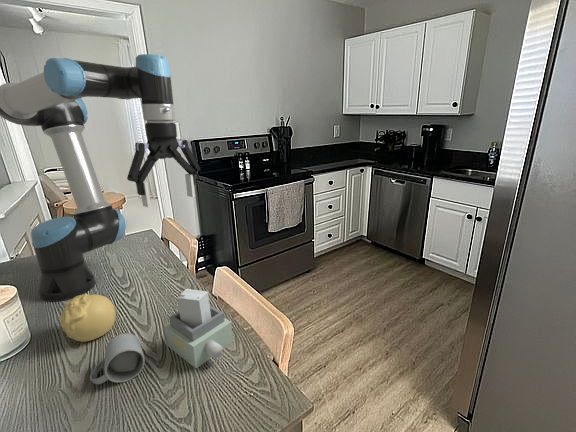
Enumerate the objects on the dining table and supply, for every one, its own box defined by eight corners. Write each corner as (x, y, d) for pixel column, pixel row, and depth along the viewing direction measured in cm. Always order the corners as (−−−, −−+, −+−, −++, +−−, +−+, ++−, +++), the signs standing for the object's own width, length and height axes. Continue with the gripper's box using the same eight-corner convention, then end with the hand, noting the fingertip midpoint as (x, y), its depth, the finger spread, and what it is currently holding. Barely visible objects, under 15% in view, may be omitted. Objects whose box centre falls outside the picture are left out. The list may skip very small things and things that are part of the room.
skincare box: (213, 332, 77) (209, 290, 73) (204, 345, 73) (200, 300, 69) (192, 328, 78) (186, 287, 75) (182, 340, 74) (176, 297, 71)
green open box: (166, 345, 76) (161, 316, 74) (203, 323, 84) (200, 296, 82) (203, 375, 67) (199, 344, 65) (241, 347, 76) (239, 317, 73)
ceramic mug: (141, 350, 75) (136, 324, 72) (147, 373, 68) (141, 345, 66) (91, 370, 69) (83, 342, 67) (92, 396, 63) (83, 366, 60)
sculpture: (65, 329, 83) (56, 294, 79) (115, 313, 89) (109, 281, 85) (64, 355, 73) (53, 317, 70) (120, 336, 80) (112, 300, 76)
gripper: (116, 123, 68) (132, 214, 75) (208, 121, 86) (214, 194, 93) (102, 122, 72) (118, 208, 79) (192, 121, 91) (199, 191, 98)
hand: (170, 201), depth 86 cm, fingers open, 13 cm apart
